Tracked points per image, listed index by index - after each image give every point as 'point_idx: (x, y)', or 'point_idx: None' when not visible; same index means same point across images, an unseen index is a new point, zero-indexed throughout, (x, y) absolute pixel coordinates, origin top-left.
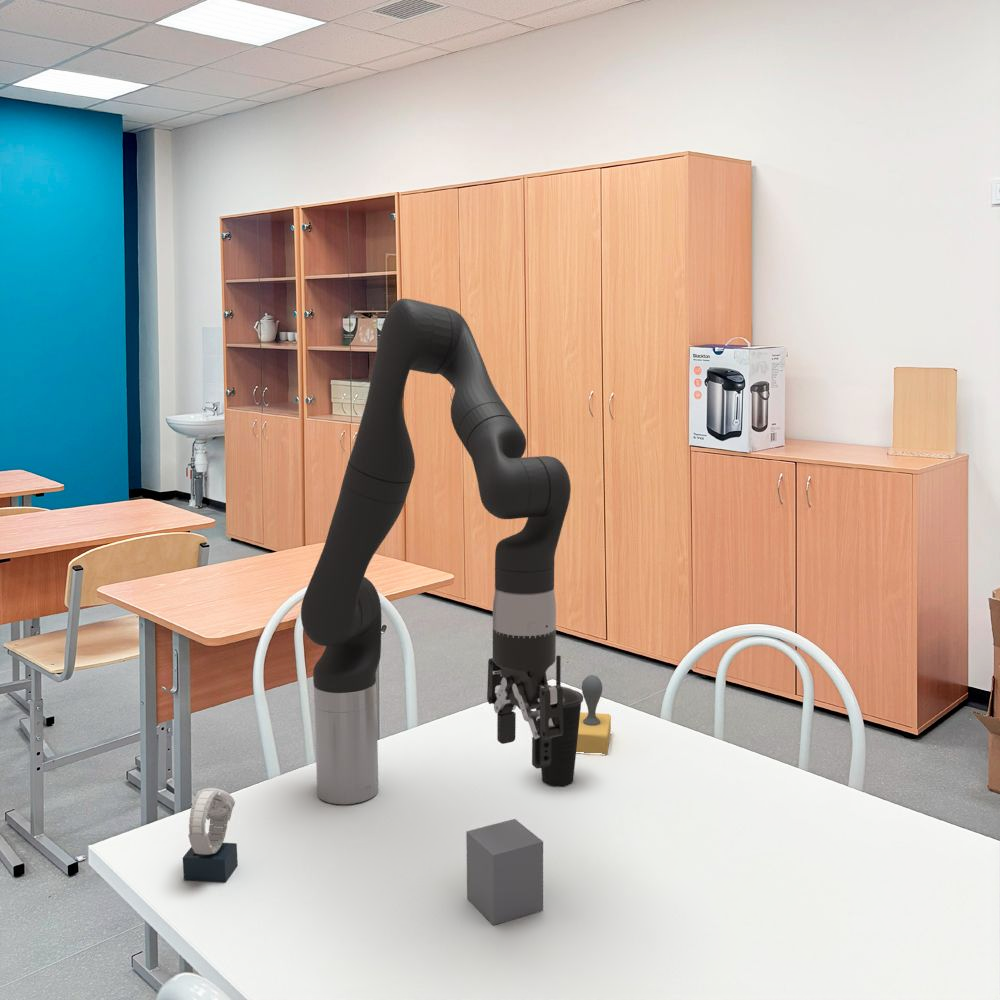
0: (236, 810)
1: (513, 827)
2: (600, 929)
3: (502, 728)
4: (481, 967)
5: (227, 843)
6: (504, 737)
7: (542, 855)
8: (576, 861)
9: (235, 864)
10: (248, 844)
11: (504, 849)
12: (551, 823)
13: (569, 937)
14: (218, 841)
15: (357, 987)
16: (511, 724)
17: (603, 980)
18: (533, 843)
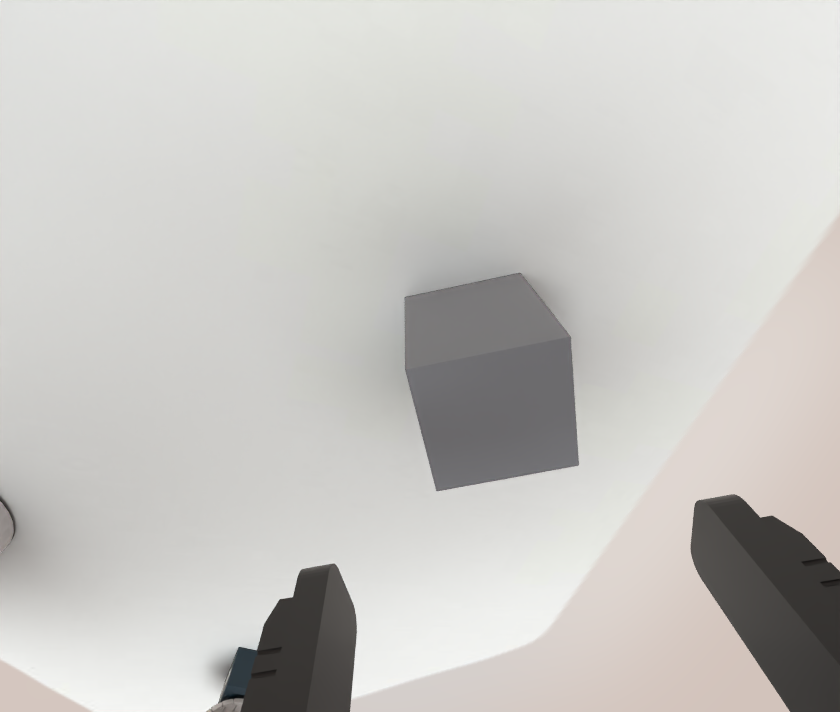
0: (47, 648)
1: (457, 387)
2: (639, 179)
3: (343, 702)
4: (633, 417)
5: (225, 692)
6: (347, 632)
7: (556, 321)
8: (336, 112)
9: (244, 654)
10: (172, 637)
11: (563, 436)
12: (98, 99)
13: (632, 254)
14: (228, 706)
15: (591, 555)
16: (324, 684)
17: (784, 243)
18: (567, 363)
